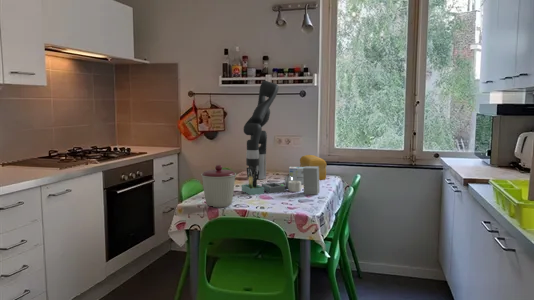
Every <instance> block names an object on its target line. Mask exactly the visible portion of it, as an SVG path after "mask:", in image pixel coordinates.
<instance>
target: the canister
mask: <svg viewBox="0 0 534 300" xmlns="http://www.w3.org/2000/svg"><path fill="white" fill-rule="evenodd" d="M200 176H201V177H202V185H203V193H204V194H203V195H204V200H205V203H206V205H207V206H208V205H209V206H208V207H210V206H213V207H212V208H225V207H229V206H231V204H232V202H233V198H234V192H235V191H234V190H235V181H236V176H237V173H236V172H234V171H233V170H231V169H230V170H229V169H223V166H222V165H221V164H216V165H215V167H214V169H208V170H205V171H203V172H202V173H201V174H200Z"/></svg>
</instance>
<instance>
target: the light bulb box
mask: <svg viewBox="0 0 534 300" xmlns="http://www.w3.org/2000/svg"><path fill="white" fill-rule="evenodd" d="M303 168H304V167H300V166H289V168H288V176H290V177H293V181H300V182H301V185H304V178H303Z"/></svg>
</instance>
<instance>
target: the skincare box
mask: <svg viewBox="0 0 534 300" xmlns="http://www.w3.org/2000/svg"><path fill="white" fill-rule="evenodd" d="M303 178H304V184H303V194H304V195H318V194H319V193H320V180H319V167H312V166H306V167H304V168H303Z"/></svg>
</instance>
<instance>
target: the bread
mask: <svg viewBox="0 0 534 300" xmlns="http://www.w3.org/2000/svg"><path fill="white" fill-rule="evenodd" d="M299 163H300V164H299V167H306V166H312V167H319V181H326V179H327V161H325V159H324V158H321V157H319V156H316V155H314V154H313V155H312V154H305V155H302V156H301V157H300V159H299Z"/></svg>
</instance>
